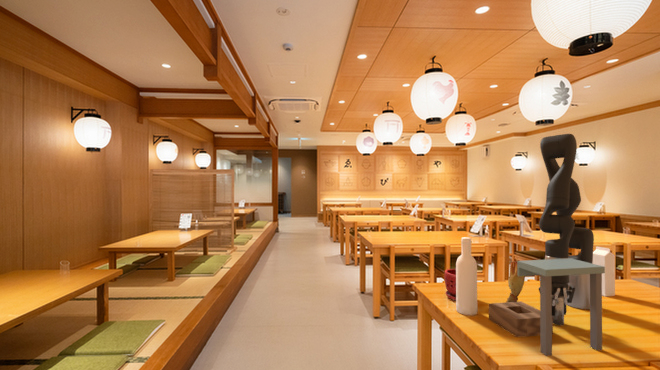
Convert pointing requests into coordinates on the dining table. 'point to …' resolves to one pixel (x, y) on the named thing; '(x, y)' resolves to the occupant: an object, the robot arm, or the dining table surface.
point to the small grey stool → (546, 271)
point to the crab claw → (515, 283)
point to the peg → (559, 311)
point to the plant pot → (450, 283)
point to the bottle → (466, 280)
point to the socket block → (516, 318)
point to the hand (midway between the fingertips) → (557, 314)
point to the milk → (606, 269)
